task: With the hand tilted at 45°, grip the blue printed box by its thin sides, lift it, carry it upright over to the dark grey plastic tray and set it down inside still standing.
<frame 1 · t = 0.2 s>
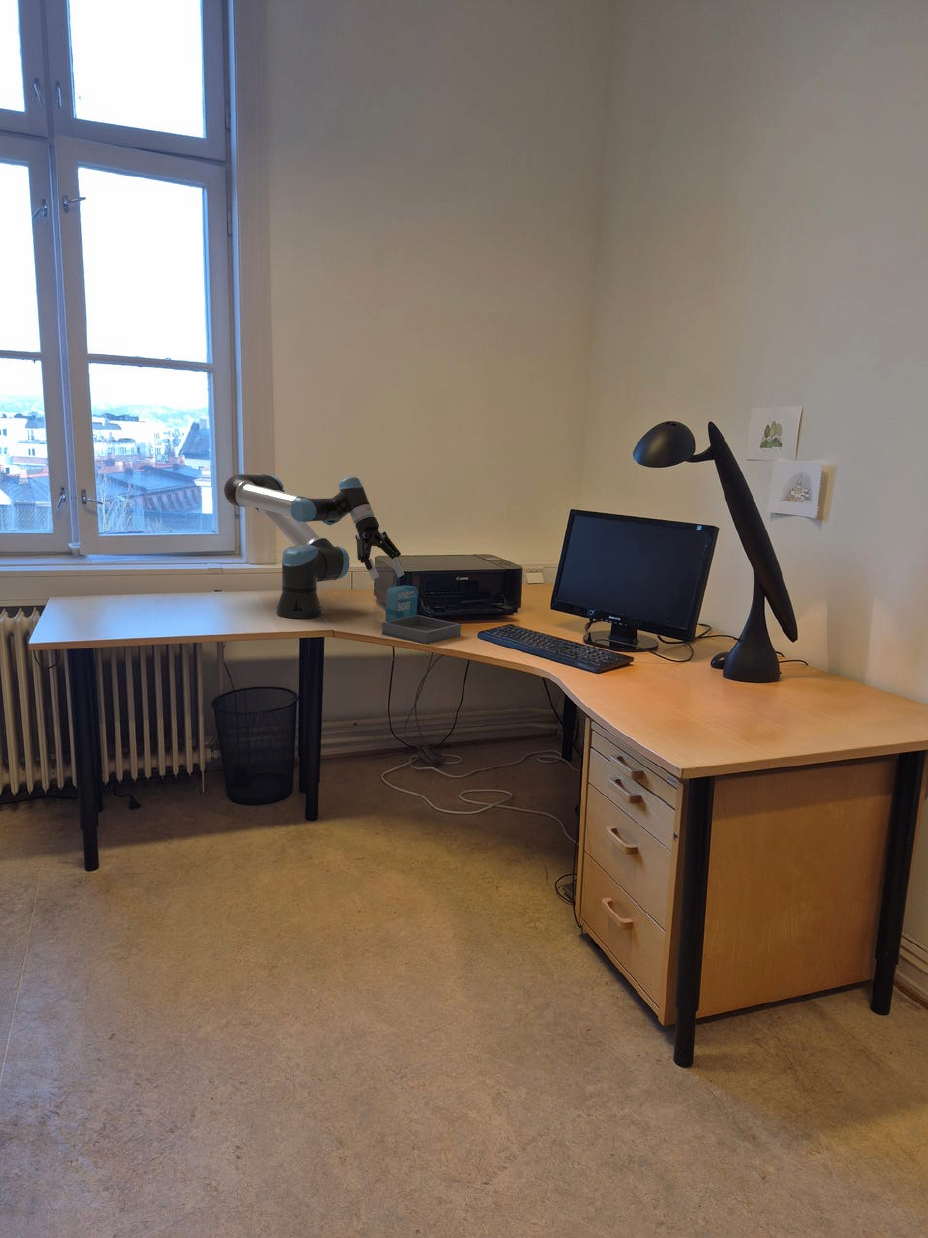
hand: (388, 577, 254), 16 cm above the table, tool tilted 35°, fingers open, 13 cm apart
blue printed box: (400, 622, 261), on the table
tray: (421, 634, 244), on the table
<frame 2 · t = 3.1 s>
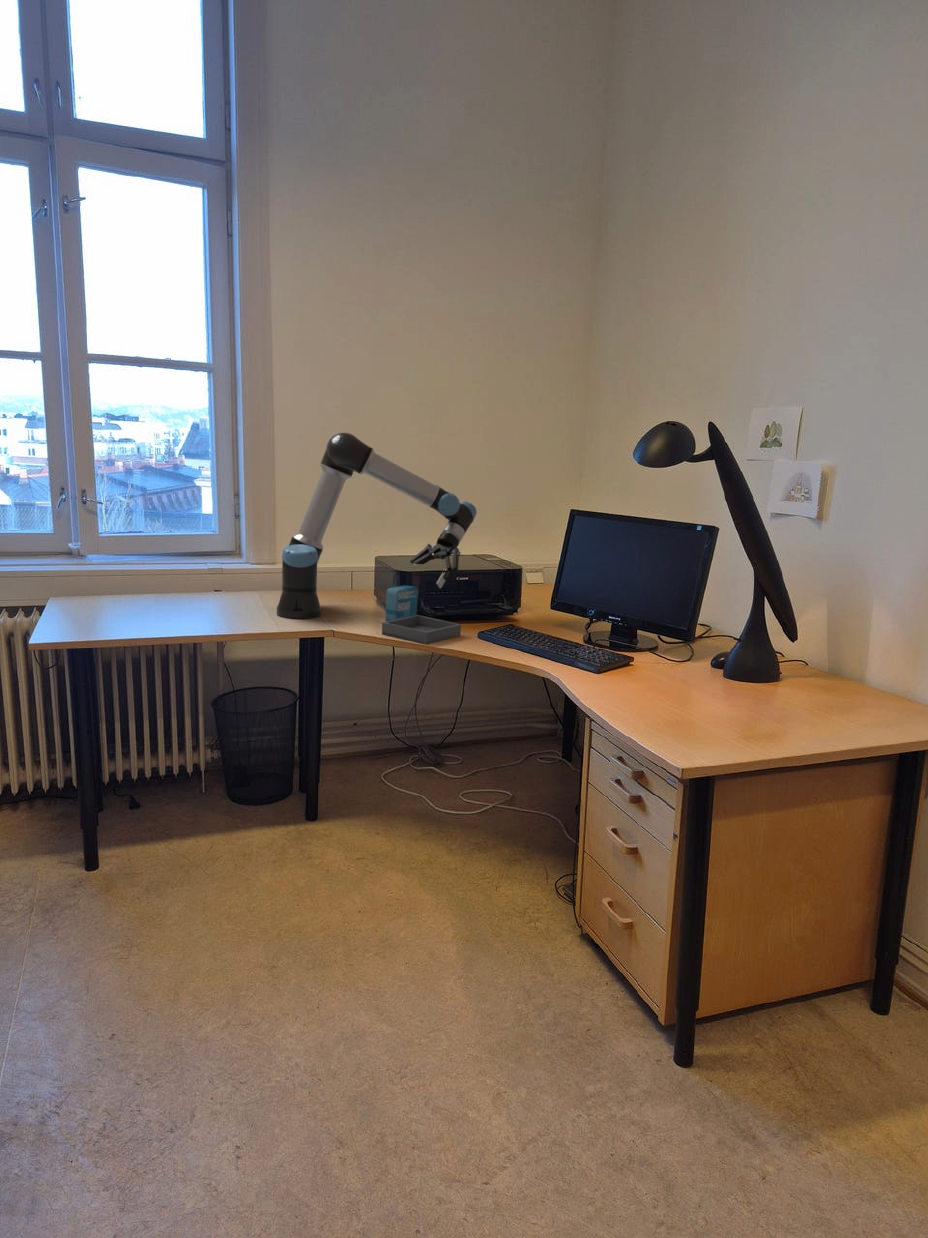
hand: (423, 583, 267), 12 cm above the table, tool tilted 45°, fingers open, 13 cm apart
nothing on the table moved.
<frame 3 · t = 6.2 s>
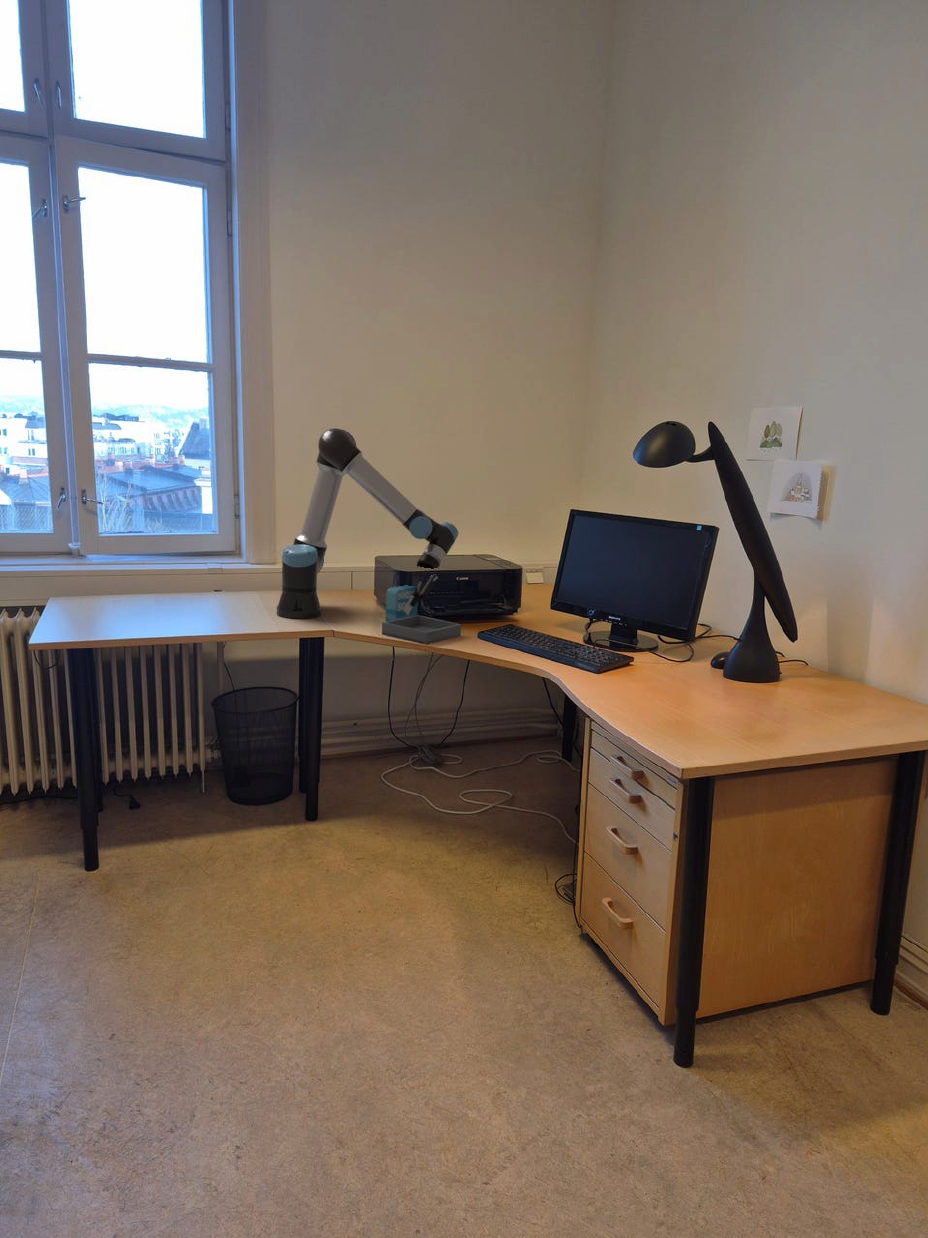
hand: (399, 611, 260), 4 cm above the table, tool tilted 45°, fingers closed on blue printed box, 5 cm apart
blue printed box: (401, 622, 261), on the table, touching gripper
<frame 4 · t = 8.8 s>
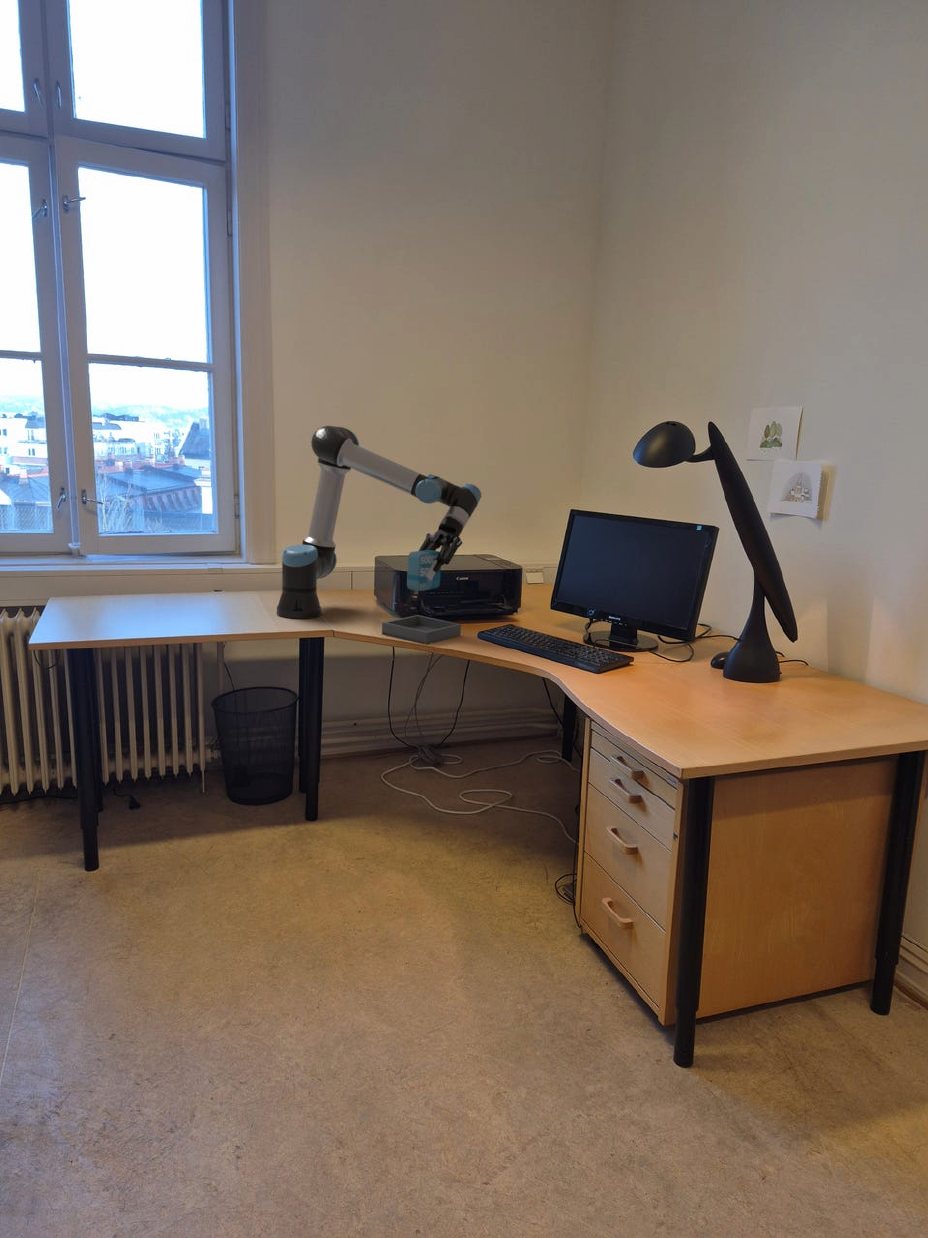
hand: (421, 577, 243), 18 cm above the table, tool tilted 45°, fingers closed on blue printed box, 4 cm apart
blue printed box: (423, 589, 245), point 14 cm above the table, touching gripper
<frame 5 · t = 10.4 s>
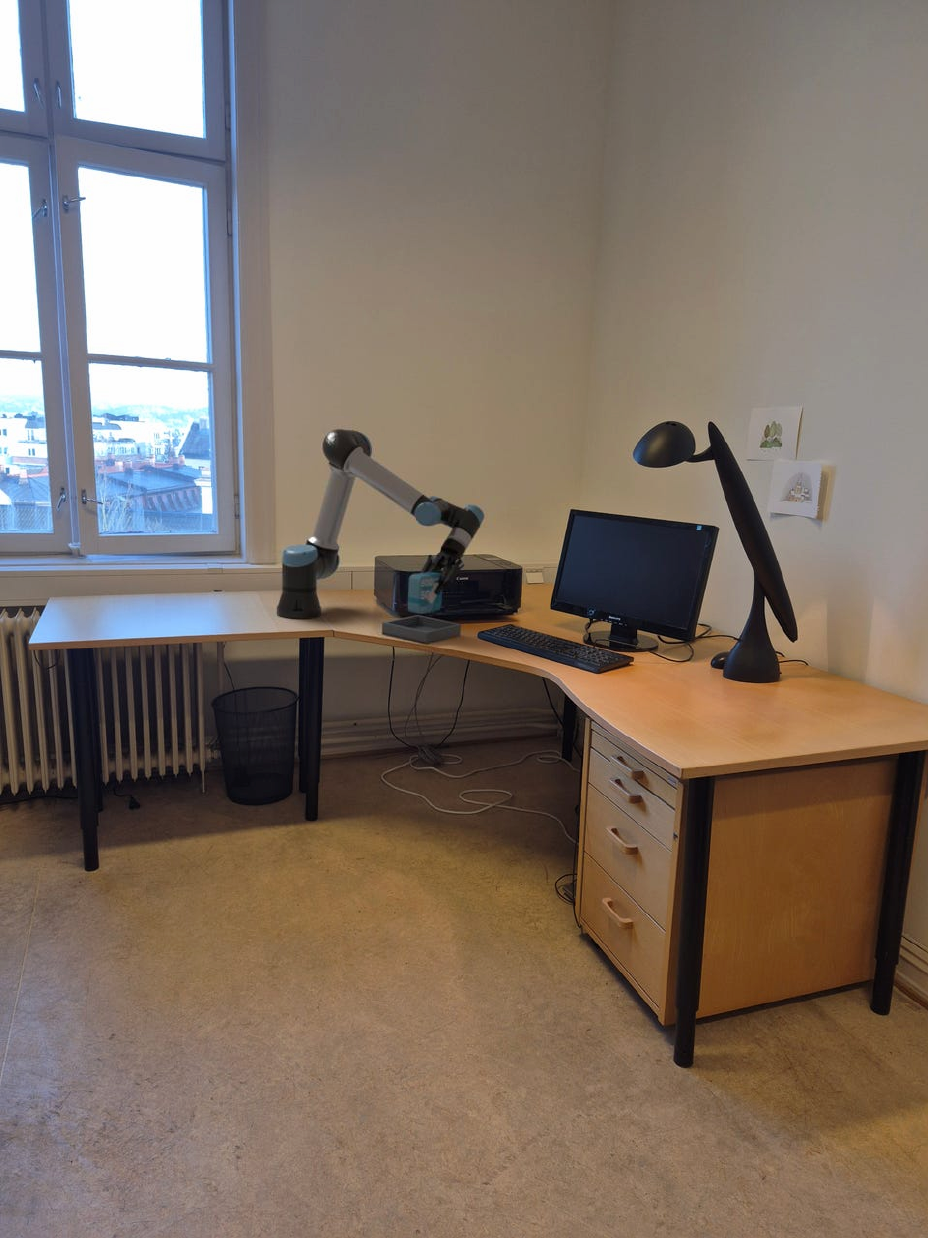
hand: (422, 599, 240), 12 cm above the table, tool tilted 45°, fingers closed on blue printed box, 4 cm apart
blue printed box: (424, 611, 242), point 8 cm above the table, touching gripper
when the fingers open (6 cm above the table, at t = 11.7 s): blue printed box drops 1 cm, resting on tray.
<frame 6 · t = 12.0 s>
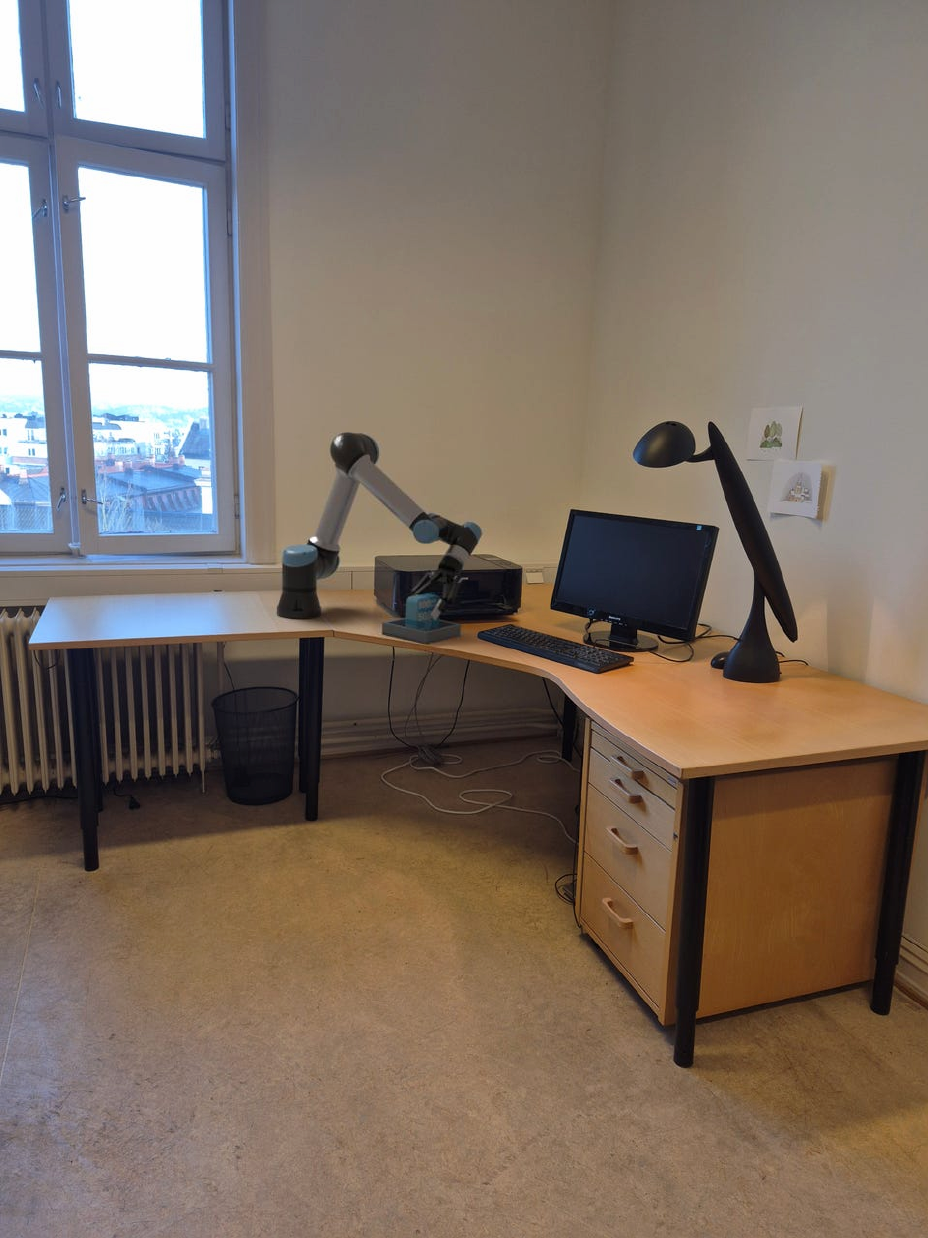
hand: (421, 615, 242), 7 cm above the table, tool tilted 45°, fingers open, 9 cm apart
blue printed box: (421, 633, 244), point 1 cm above the table, touching tray
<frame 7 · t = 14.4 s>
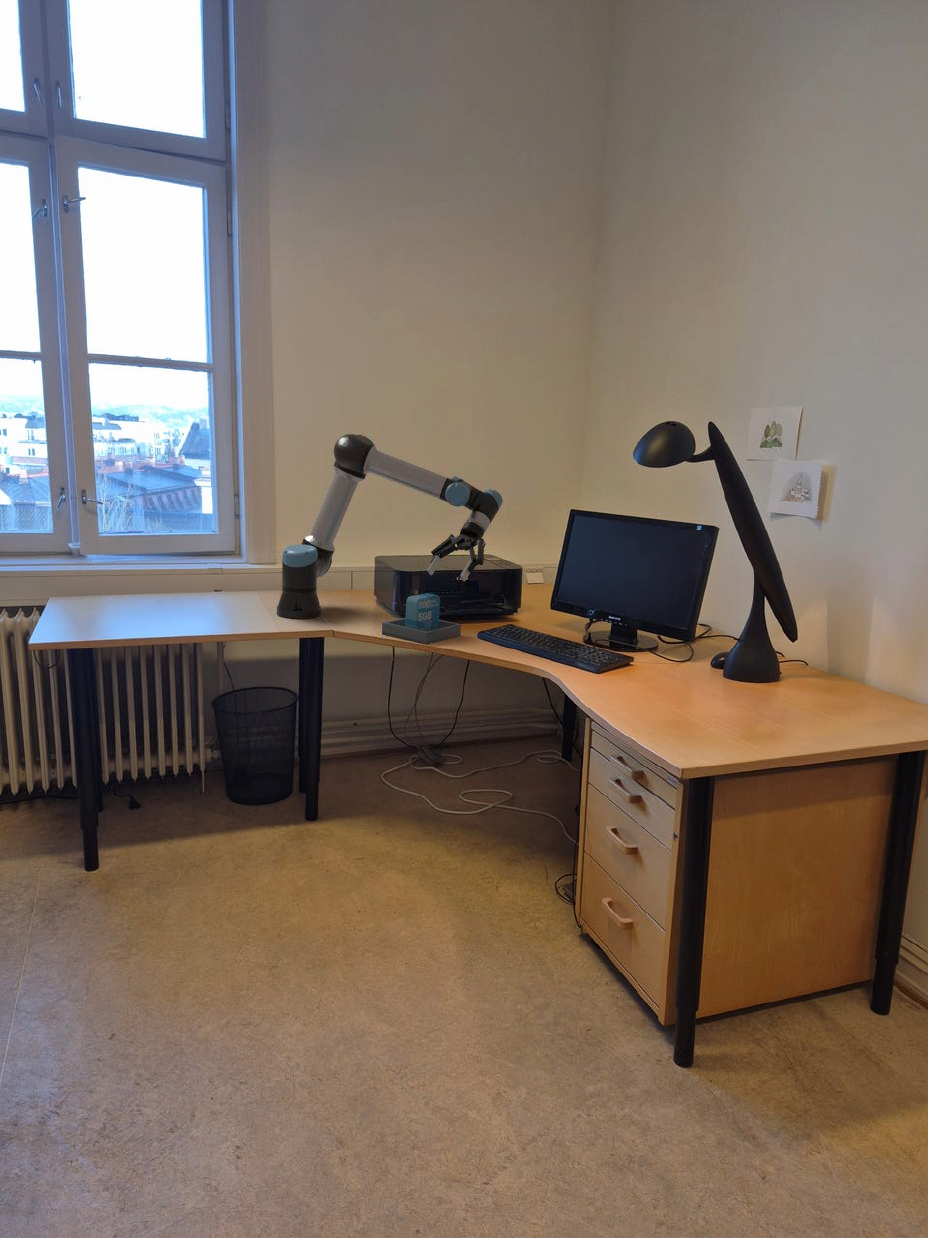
hand: (445, 575, 249), 18 cm above the table, tool tilted 45°, fingers open, 13 cm apart
nothing on the table moved.
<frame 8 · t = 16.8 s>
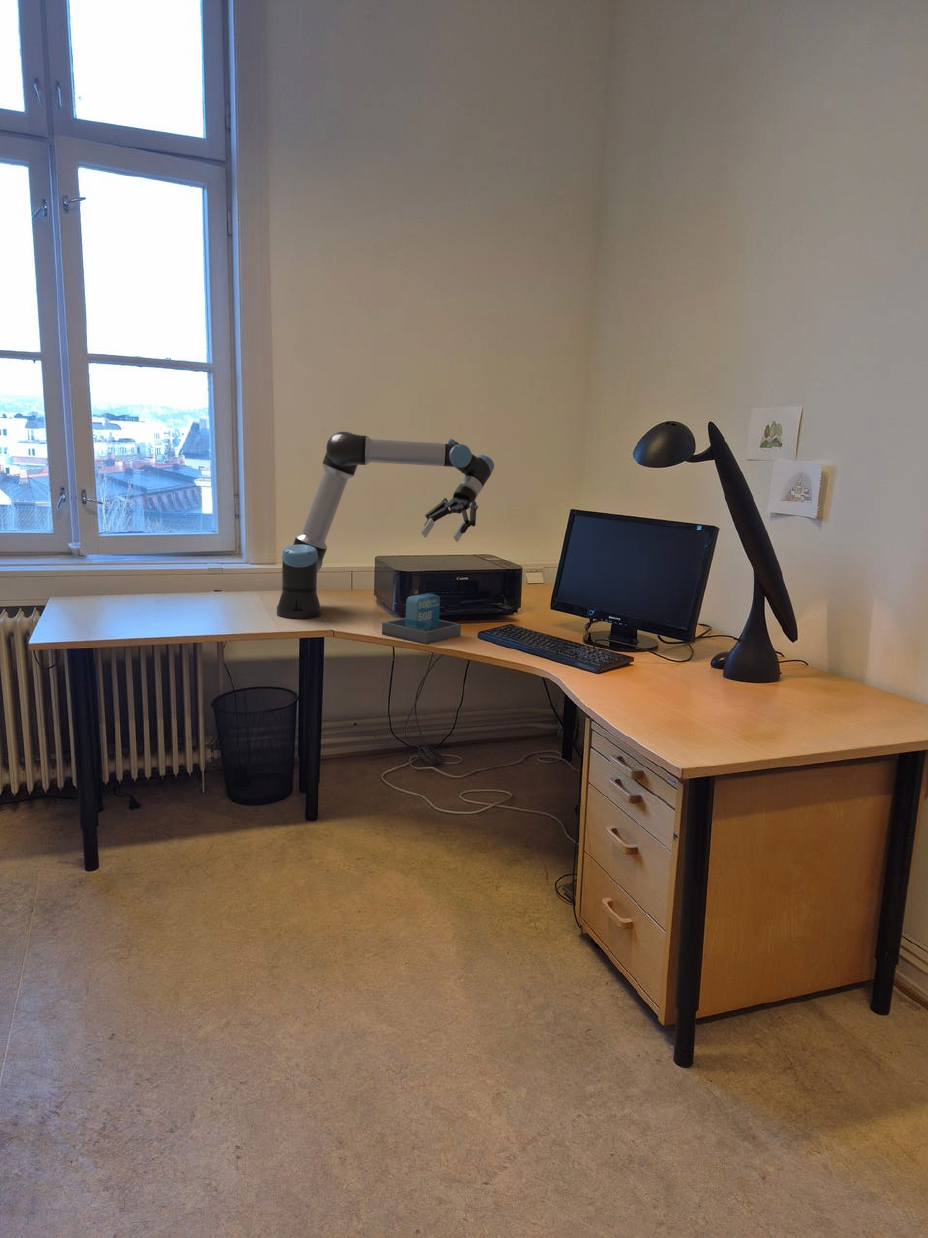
hand: (439, 536, 258), 30 cm above the table, tool tilted 45°, fingers open, 13 cm apart
nothing on the table moved.
at the end: blue printed box inside the target area on the tray (0.2 cm from its centre), point 0.6 cm above the tray's base; blue printed box tilted 0°; the gripper is holding nothing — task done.
